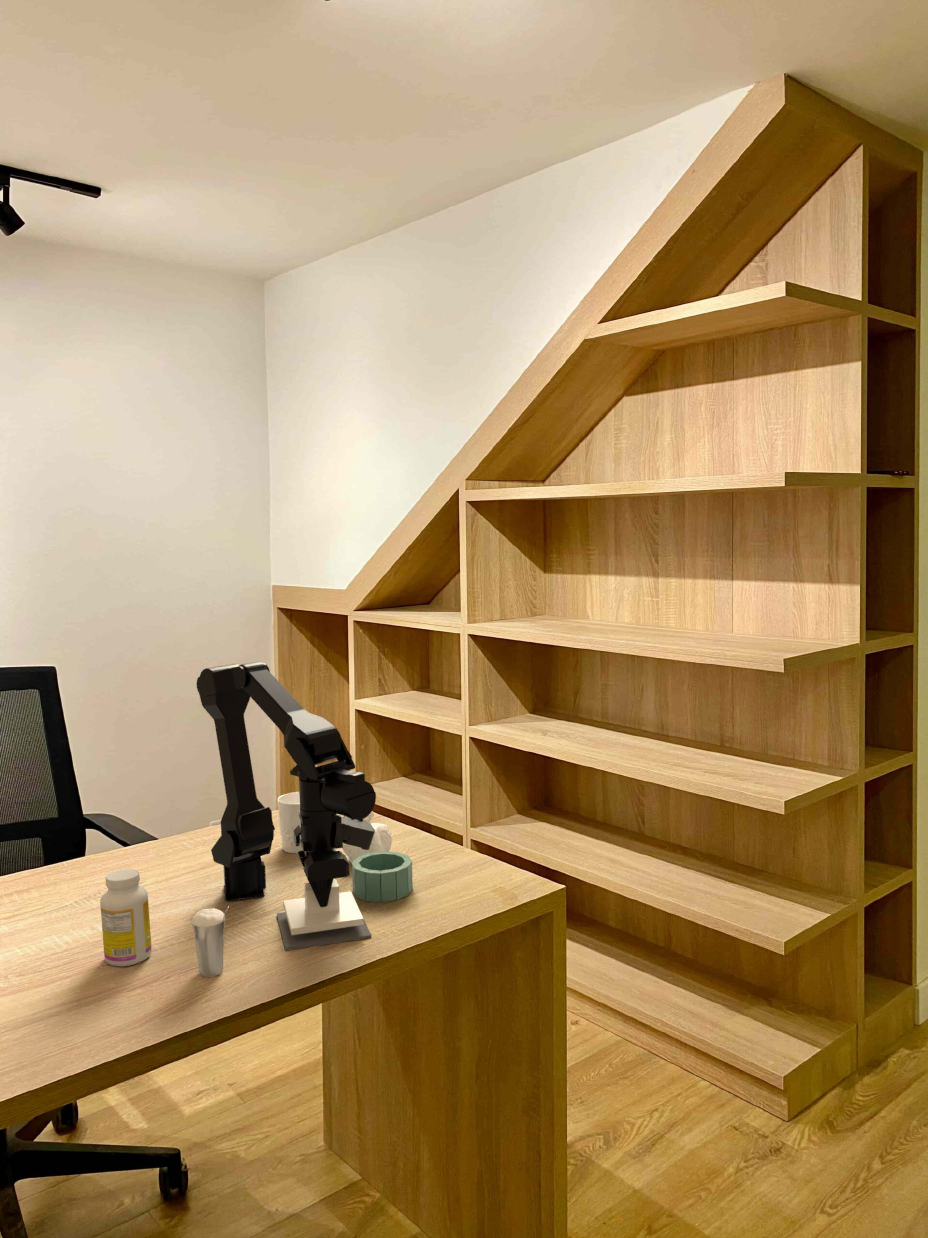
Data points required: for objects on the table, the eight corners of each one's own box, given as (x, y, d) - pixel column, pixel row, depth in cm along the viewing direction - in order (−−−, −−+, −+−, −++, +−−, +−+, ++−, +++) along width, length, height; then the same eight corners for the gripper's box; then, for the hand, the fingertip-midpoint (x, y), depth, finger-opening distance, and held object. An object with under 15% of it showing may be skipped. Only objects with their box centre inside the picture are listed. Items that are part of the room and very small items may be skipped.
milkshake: (224, 982, 132) (220, 913, 131) (189, 979, 133) (185, 911, 132) (238, 966, 137) (235, 900, 136) (204, 963, 138) (200, 897, 137)
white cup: (328, 844, 186) (326, 795, 185) (301, 857, 180) (299, 806, 178) (298, 838, 190) (296, 789, 189) (270, 850, 184) (268, 800, 183)
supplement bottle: (136, 943, 145) (131, 862, 143) (160, 955, 141) (155, 872, 139) (95, 960, 140) (89, 876, 138) (119, 973, 136) (114, 887, 134)
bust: (387, 860, 184) (360, 808, 187) (409, 843, 179) (381, 791, 183) (342, 879, 174) (314, 825, 178) (365, 862, 170) (336, 807, 173)
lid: (291, 935, 142) (290, 903, 142) (283, 906, 153) (282, 876, 152) (363, 924, 146) (362, 893, 145) (351, 897, 156) (350, 868, 156)
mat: (285, 950, 141) (285, 948, 141) (276, 915, 154) (276, 913, 154) (371, 937, 145) (371, 935, 145) (356, 904, 158) (355, 902, 158)
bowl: (359, 905, 157) (358, 876, 157) (349, 883, 167) (348, 855, 166) (417, 897, 160) (417, 868, 160) (404, 875, 170) (403, 848, 169)
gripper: (381, 818, 141) (384, 919, 142) (358, 784, 158) (361, 874, 160) (306, 827, 137) (310, 930, 139) (291, 791, 155) (295, 883, 157)
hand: (322, 902), depth 149 cm, fingers closed on lid, 3 cm apart
